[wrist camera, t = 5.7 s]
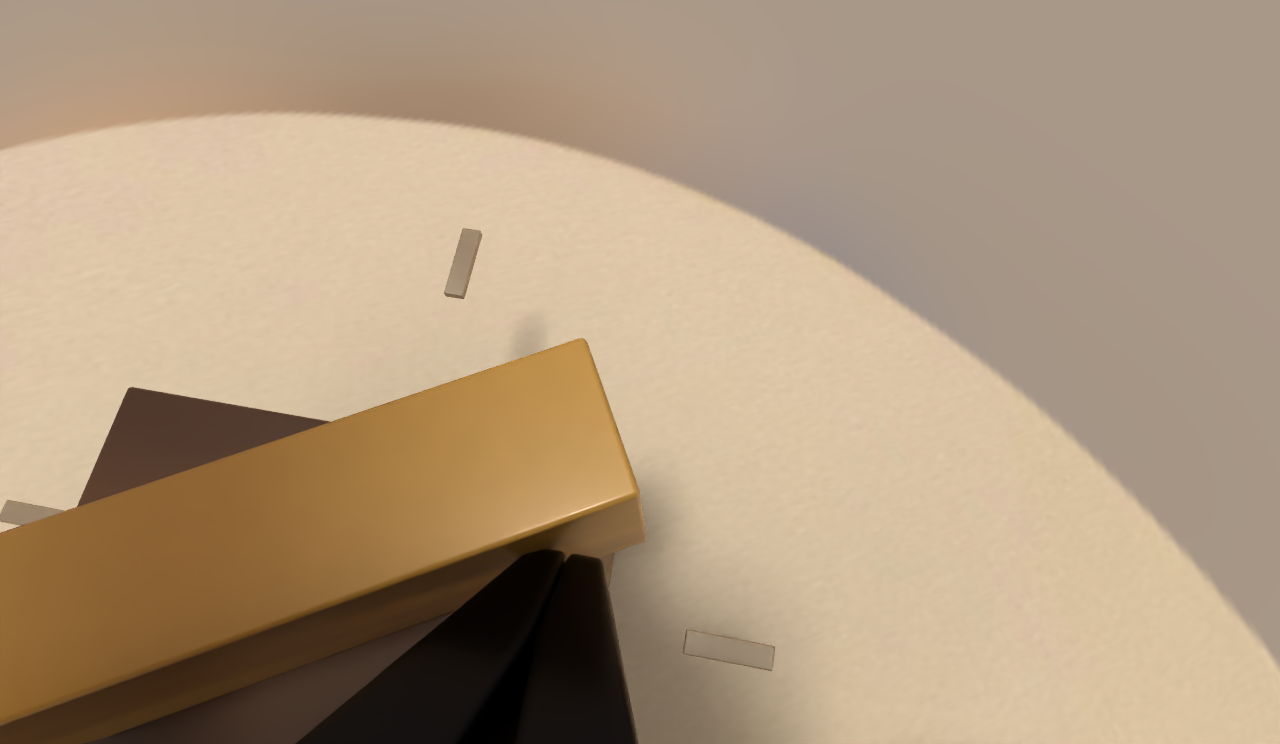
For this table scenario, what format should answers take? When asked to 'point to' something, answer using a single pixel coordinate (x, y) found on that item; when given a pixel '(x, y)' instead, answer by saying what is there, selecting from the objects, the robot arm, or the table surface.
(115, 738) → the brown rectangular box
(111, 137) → the table surface
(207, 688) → the rectangular block
